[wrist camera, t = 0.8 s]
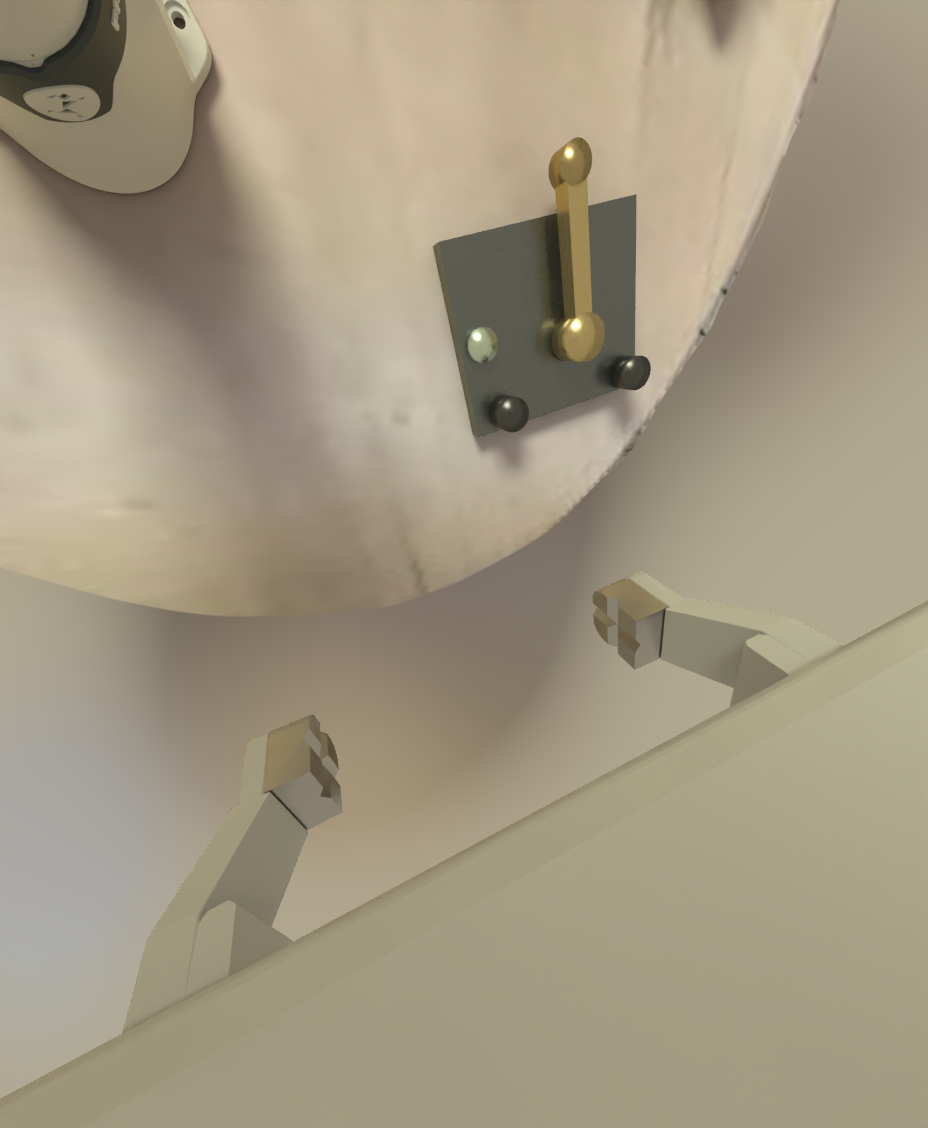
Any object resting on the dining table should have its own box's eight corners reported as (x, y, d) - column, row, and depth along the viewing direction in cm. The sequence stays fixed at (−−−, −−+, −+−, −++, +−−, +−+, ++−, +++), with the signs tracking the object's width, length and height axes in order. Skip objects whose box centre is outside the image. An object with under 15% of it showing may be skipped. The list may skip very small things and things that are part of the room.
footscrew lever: (587, 355, 50) (605, 355, 47) (553, 365, 49) (569, 366, 46) (577, 148, 40) (599, 132, 37) (534, 157, 39) (553, 141, 36)
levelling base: (433, 246, 41) (447, 235, 37) (624, 200, 46) (656, 185, 41) (473, 434, 52) (487, 441, 48) (624, 382, 56) (649, 385, 52)
